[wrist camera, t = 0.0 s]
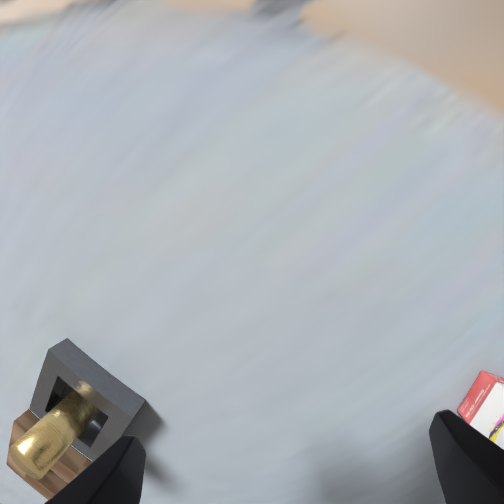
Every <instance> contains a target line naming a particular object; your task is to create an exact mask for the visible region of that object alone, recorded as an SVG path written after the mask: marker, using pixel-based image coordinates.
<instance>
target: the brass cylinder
mask: <svg viewBox="0 0 504 504" xmlns="http://www.w3.org/2000/svg"><path fill="white" fill-rule="evenodd" d="M100 412H101V411H100V410H99V409H98V408H96V407H95V406H94V405H93V404H91V403H90V402H89V401H87V400H86V399H85V398H84V397H83V396H81V395H80V394H79V393H78V392H76V391H75V390H73V391H72V392H71V393H70V394H69V395H68V396H67V397H66V398H64V399H63V400H62V401H61V402H60V403H59V404H58V405H56V406H55V407H54V408H53V409H52V410H51V411H50V412H49V413H47V414H46V415H45V416H44V417H43V418H42V419H41V420H40V421H38V422H37V423H36V424H35V425H34V426H33V427H32V428H31V429H29V430H28V431H27V432H26V433H25V434H24V435H23V436H22V437H21V438H19V439H18V440H17V441H16V442H15V443H14V444H13V445H12V446H11V447H10V448H9V451H10V455H11V457H12V459H13V460H14V462H15V463H16V464H17V465H18V467H19V468H20V469H21V470H22V471H23V472H25V473H26V474H27V475H29V476H30V477H32V478H34V479H38V480H40V479H42V477H43V476H44V475H45V474H46V473H47V472H48V471H49V470H50V468H51V467H52V466H53V465H54V464H55V463H56V462H57V460H58V459H59V458H60V457H61V456H62V455H63V454H64V452H65V451H66V450H67V449H68V448H69V447H70V446H71V444H72V443H73V442H74V441H75V440H76V439H77V438H78V437H79V435H80V434H81V433H82V432H83V431H84V430H85V429H86V427H87V426H88V425H89V424H90V423H91V422H92V421H93V420H94V418H95V417H96V416H97V415H98V414H99V413H100Z"/></svg>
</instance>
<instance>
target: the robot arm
mask: <svg viewBox="0 0 504 504" xmlns="http://www.w3.org/2000/svg"><path fill="white" fill-rule="evenodd" d="M429 436H430V440H431V445H432V449H433V454H434V459H435V464H436V469H437V474H438V477H439V481H440V484H441V487H442V490H443V493H444V497H445V500H446V503H447V504H504V449H502V448H501V447H499V446H498V445H497V444H495V443H494V442H493V441H491V440H490V439H488V438H487V437H486V436H484V435H483V434H482V433H480V432H479V431H478V430H476V429H475V428H473V427H472V426H471V425H469V424H468V423H467V422H465V421H464V420H463V419H461V418H460V417H459V416H457V415H456V414H454V413H453V412H452V411H450V410H443V411H439V412H437V413H436V414H435V416H434V418H433V421H432V423H431V426H430V429H429ZM145 459H146V452H145V449H144V448H143V446H142V444H141V443H140V441H139V439H138V438H137V437H136V436H134V435H127V434H126V435H123V436H121V437H120V438H119V439H118V440H117V441H116V442H115V443H113V444H112V445H111V446H110V447H109V448H108V449H107V450H106V451H105V452H104V453H102V454H101V455H100V456H99V457H98V458H97V459H96V460H95V461H93V462H92V463H91V464H90V465H89V466H88V467H87V468H86V469H84V470H83V471H82V472H81V473H80V474H79V475H78V476H76V477H75V478H74V479H73V480H72V481H71V482H69V483H68V484H67V485H66V486H65V487H64V488H62V489H61V490H60V491H59V492H58V493H57V494H55V495H54V496H53V497H52V498H51V499H49V500H48V501H47V502H46V503H45V504H139V502H140V498H141V492H142V484H143V475H144V467H145Z"/></svg>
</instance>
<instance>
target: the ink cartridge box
mask: <svg viewBox="0 0 504 504" xmlns="http://www.w3.org/2000/svg"><path fill="white" fill-rule="evenodd" d="M457 411H458V413H459V414H460V415H461V416H462V417H463V418H464V420H465V421H466V422H467V423H468V424H469V425H471V426H472V427H473V428H475V429H476V430H478V431H479V432H480V433H482V434H483V435H484V436H486V437H487V438H488V439H490V440H491V441H493V442H494V443H495V444H497V445H498V446H499V447H501V448H502V449H504V378H501V377H498V376H496V375H493V374H490V373H487V372H484V371H483V370H482V371H481V372H480V374H479V376H478V378H477V379H476V381H475V383H474V384H473V386H472V388H471V389H470V391H469V392H468V394H467V396H466V397H465V399H464V400H463V402H462V403H461V405H460V406H459V408H458V409H457Z"/></svg>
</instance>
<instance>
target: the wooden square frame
mask: <svg viewBox="0 0 504 504" xmlns="http://www.w3.org/2000/svg"><path fill="white" fill-rule="evenodd" d="M38 421H40V420H39V419H38V418H37V417H36V416H35V415H34V414H33V413H32V412H31V411H30V410H29V409H28V410H27V411H26V412H25V413H23V414H22V415H21V416H20V417H18V418H17V419H16V420H15V421H14V423H13V428H12V434H11V439H10V445H9V448H10V447H11V446H12V445H13V444H14V443H15V442H16V441H17V440H18V439H19V438H21V437H22V436H23V435H24V434H25V433H26V432H27V431H28V430H29V429H31V428H32V427H33V426H34V425H35V424H36V423H37V422H38ZM91 463H92V462H91V461H90V460H89V459H87V458H86V457H85V456H83V455H82V454H81V453H79V452H78V451H77V450H75V449H74V448H73V447H71V446H70V447H69V448H68V449H67V450H66V451H65V452H64V454H63V455H62V456H61V457H60V458H59V459H58V460H57V462H56V463H55V464H54V465H53V466H52V467H51V468H50V469H51V470H52V471H53V472H54V473H53V472H52V471H51V470H49V471H48V472H47V473H46V474H45V475H44V476H43V477H42V479H40V480H38V479H34V478H32V477H30V476H29V475H27V474H26V473H25V472H23V471H22V470H21V469H20V468H19V467H18V465H17V464H16V463H15V462H14V460H13V459H12V457H11V455H10V451H8V457H7V465H8V466H9V467H10V468H11V469H12V470H13V471H14V472H15V473H16V474H18V475H19V476H20V477H21V478H22V479H23V480H24V481H26V482H27V483H28V484H29V485H30V486H32V487H33V488H34V489H35V490H36V491H38V492H39V493H40V494H41V495H43V496H44V497H45V498H46V499H48V500H49V499H51V498H52V497H53V496H54V495H55V494H57V493H58V492H59V491H60V490H61V489H62V488H64V487H65V486H66V485H67V484H68V483H69V482H71V481H72V480H73V479H74V478H75V477H76V476H78V475H79V474H80V473H81V472H82V471H83V470H84V469H86V468H87V467H88V466H89V465H90V464H91ZM55 473H56V474H57V475H58V476H59V477H58V476H57V475H56V474H55ZM60 477H61V478H62V479H63V480H62V479H61V478H60ZM64 480H65V481H66V482H67V483H66V482H65V481H64Z"/></svg>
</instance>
